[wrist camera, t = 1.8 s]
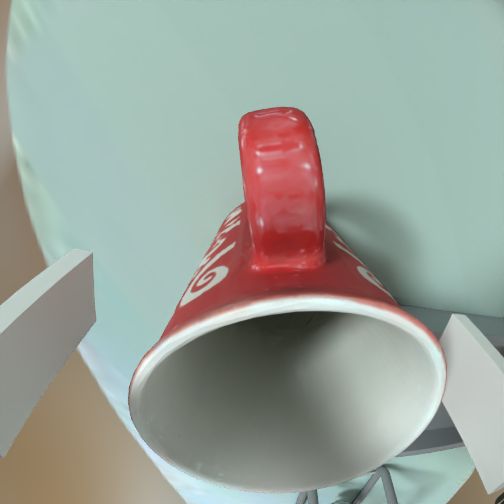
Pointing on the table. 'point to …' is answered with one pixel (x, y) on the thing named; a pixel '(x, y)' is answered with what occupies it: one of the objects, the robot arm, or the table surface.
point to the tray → (441, 427)
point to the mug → (285, 341)
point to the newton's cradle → (376, 475)
